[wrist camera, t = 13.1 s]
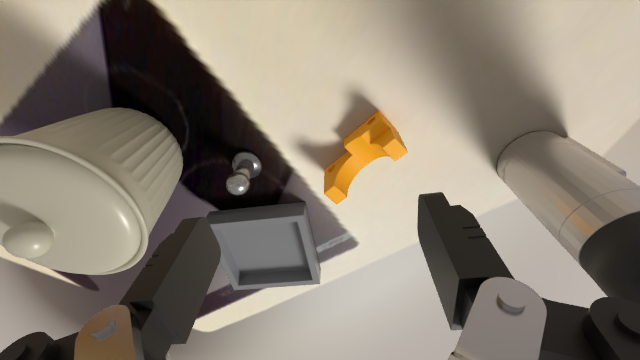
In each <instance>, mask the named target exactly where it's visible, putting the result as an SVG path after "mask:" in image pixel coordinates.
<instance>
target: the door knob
mask: <svg viewBox="0 0 640 360" xmlns="http://www.w3.org/2000/svg"><path fill="white" fill-rule="evenodd" d="M232 167H233V169H234V173H232V174H230V175H229V176H228V178H227V180H226V187H227V189H228V191H229V192H230V193H232V194H234V195H242V194H244V193H245V192H247V190H248V189H249V186H250V181H249V179H250V178H253V177H256V176H257V175H258V174H259V173H260V171H261V168H262V162H261V159H260V158H259V157H258V155H256V154H255V153H253V152H251V151H241V152H239V153H237V154H236V155H235V157H234V159H233V161H232Z"/></svg>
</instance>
